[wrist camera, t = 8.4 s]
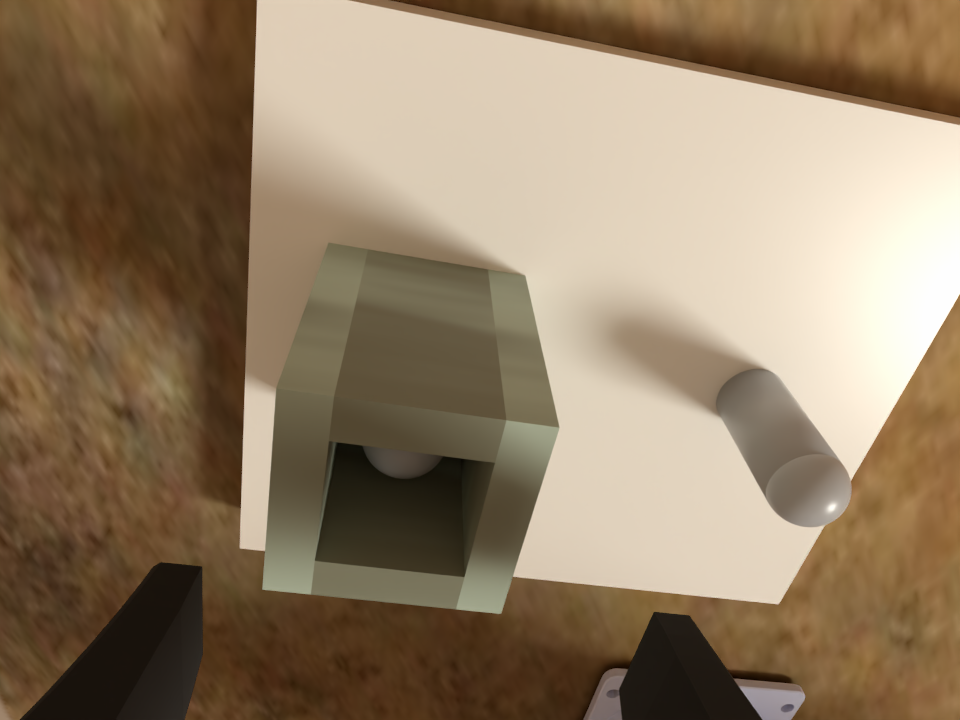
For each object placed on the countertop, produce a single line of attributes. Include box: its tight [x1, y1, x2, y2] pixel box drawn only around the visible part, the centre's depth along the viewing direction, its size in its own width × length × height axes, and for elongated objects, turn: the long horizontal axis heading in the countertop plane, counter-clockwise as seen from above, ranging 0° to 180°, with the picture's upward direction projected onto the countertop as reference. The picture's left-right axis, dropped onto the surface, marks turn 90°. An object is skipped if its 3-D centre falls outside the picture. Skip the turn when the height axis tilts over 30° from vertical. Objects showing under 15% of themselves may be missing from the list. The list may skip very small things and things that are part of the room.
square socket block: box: [262, 243, 560, 614], centre depth 15 cm, size 5×5×6 cm
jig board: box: [240, 0, 960, 604], centre depth 17 cm, size 15×17×6 cm
